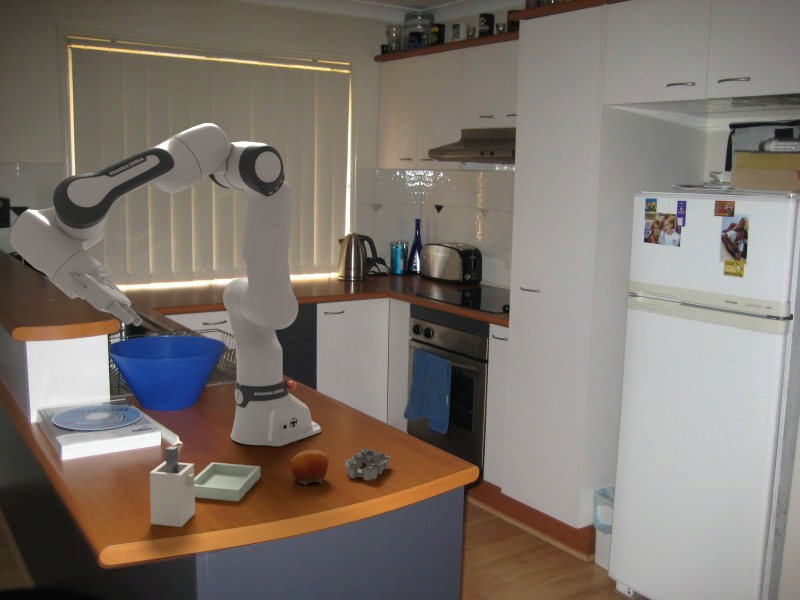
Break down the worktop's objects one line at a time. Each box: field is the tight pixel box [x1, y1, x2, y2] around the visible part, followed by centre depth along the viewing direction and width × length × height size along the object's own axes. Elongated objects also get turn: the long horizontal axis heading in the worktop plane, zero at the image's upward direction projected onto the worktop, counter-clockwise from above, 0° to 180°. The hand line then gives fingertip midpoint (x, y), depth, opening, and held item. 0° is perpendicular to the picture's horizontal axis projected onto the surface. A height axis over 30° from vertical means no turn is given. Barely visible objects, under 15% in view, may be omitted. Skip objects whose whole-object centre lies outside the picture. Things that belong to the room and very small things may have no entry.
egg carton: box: [344, 447, 391, 481], centre depth 176 cm, size 11×8×4 cm
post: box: [165, 445, 179, 474], centre depth 150 cm, size 2×2×14 cm
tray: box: [194, 462, 261, 502], centre depth 166 cm, size 13×11×2 cm
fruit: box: [290, 449, 330, 486], centre depth 170 cm, size 8×8×8 cm
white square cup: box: [149, 460, 196, 528], centre depth 150 cm, size 6×7×10 cm
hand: (135, 322), depth 158 cm, fingers open, 8 cm apart
